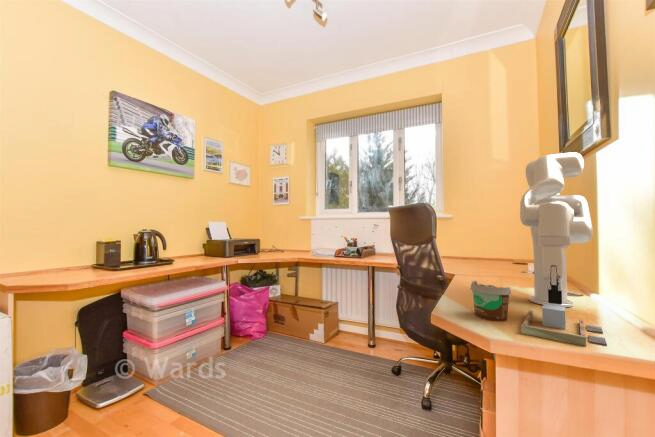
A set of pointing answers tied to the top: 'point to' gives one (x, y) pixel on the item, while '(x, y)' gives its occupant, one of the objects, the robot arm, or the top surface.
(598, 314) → the top surface
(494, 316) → the food container
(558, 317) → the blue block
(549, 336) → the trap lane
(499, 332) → the top surface
